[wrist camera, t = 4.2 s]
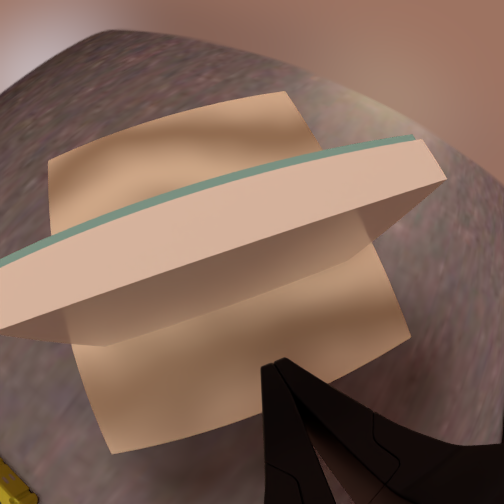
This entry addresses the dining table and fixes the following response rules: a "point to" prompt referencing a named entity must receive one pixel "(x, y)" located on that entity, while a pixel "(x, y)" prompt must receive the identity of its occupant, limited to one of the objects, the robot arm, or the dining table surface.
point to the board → (228, 318)
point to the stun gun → (14, 488)
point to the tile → (211, 243)
